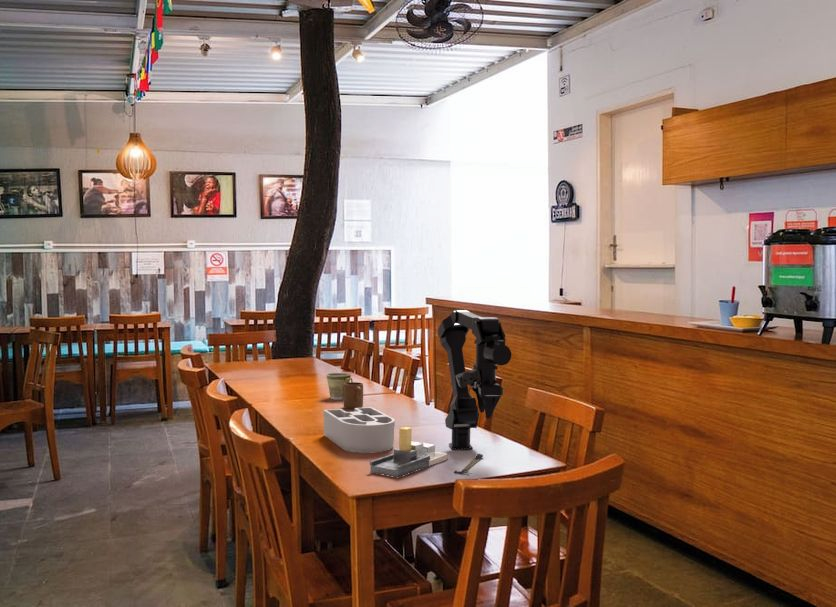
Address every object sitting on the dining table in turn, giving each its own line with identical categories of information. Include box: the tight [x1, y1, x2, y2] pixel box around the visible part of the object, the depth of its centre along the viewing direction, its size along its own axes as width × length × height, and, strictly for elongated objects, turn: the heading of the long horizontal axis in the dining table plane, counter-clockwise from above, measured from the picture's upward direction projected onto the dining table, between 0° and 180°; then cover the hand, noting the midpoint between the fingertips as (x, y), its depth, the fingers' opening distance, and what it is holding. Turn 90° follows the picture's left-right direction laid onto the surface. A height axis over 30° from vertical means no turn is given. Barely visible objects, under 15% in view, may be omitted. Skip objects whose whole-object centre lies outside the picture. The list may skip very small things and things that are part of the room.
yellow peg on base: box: [393, 426, 417, 463], centre depth 216 cm, size 3×6×9 cm, turn 57°
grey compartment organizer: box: [323, 406, 396, 454], centre depth 246 cm, size 17×28×9 cm, turn 23°
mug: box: [343, 381, 364, 410], centre depth 304 cm, size 12×8×9 cm, turn 22°
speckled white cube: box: [423, 442, 436, 460], centre depth 225 cm, size 4×4×4 cm
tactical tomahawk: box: [453, 453, 484, 476], centre depth 220 cm, size 21×7×1 cm, turn 159°
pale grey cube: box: [411, 440, 425, 459], centre depth 220 cm, size 4×4×4 cm
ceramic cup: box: [326, 372, 354, 401], centre depth 325 cm, size 13×10×10 cm
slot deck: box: [369, 453, 430, 478], centre depth 215 cm, size 15×10×3 cm, turn 147°
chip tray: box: [429, 451, 449, 467], centre depth 225 cm, size 10×9×2 cm
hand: (484, 415), depth 226 cm, fingers open, 9 cm apart
